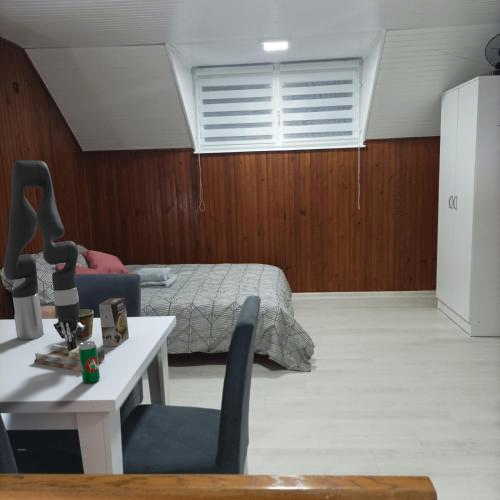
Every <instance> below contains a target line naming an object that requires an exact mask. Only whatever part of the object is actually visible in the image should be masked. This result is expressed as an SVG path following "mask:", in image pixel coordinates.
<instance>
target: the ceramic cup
mask: <svg viewBox="0 0 500 500" xmlns="http://www.w3.org/2000/svg"><path fill="white" fill-rule="evenodd" d="M78 317H79V319H80V323H81V324H82V325H85V326H86V328H85V330H84V332H83V334H82V336H81V338H79V339H77V340H76V341H85V340H89V339H91V337H93V328H94V327H93V326H94V318H95V317H94V310H92V309H89V308H88V309H85V308H84V309H80V313H79V315H78Z"/></svg>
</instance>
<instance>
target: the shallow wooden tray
mask: <svg viewBox="0 0 500 500" xmlns="http://www.w3.org/2000/svg"><path fill="white" fill-rule="evenodd" d="M52 346H53V347H52V349H53V351H51V352H49V353H41V352H36V353H34V356H35V358H34V363H35V364H39V365H45V366H51V367H56V368H60V369H67V370H72V371H75V372H76V371H77V372H81V364H80V360H77V359H72V358H69V351H68V348H67V345H59V344H53V345H52ZM97 355H98V364H99V363H101V362H104V360H105V358H106V357H105V350H104V349H100V350H97Z"/></svg>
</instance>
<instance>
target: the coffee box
mask: <svg viewBox="0 0 500 500" xmlns="http://www.w3.org/2000/svg"><path fill="white" fill-rule="evenodd" d="M98 307H99V309H98V310H99V317H100V319H99V320H100V328H101V338H102V346H105V347H106V346H107V347H108V346H109V347H119V346H120V345H122V344H123V343H124V342H125V341H127V340H128V339H129V338H130V335H129V326H128V325H129V324H128V323H129V322H128V316H127V315H128V314H127V305H126V297H110V298H108V299H107V300H104V301H102V302H100V303H99V304H98Z"/></svg>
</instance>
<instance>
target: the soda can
mask: <svg viewBox="0 0 500 500" xmlns="http://www.w3.org/2000/svg"><path fill="white" fill-rule="evenodd" d="M78 347H79V355H80V364H81V371H80V372H81V380H82V382H83V383H85V384H87V385H90V384H94V383H97V382H98V381H99V380H100V378H101V375H100V374H101V373H100V364H99V363H98V355H97V351H98V347H97V344H96V342H95V341H94V340H93V341H92V340H86V341H83V342H81V343H79V346H78Z"/></svg>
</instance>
